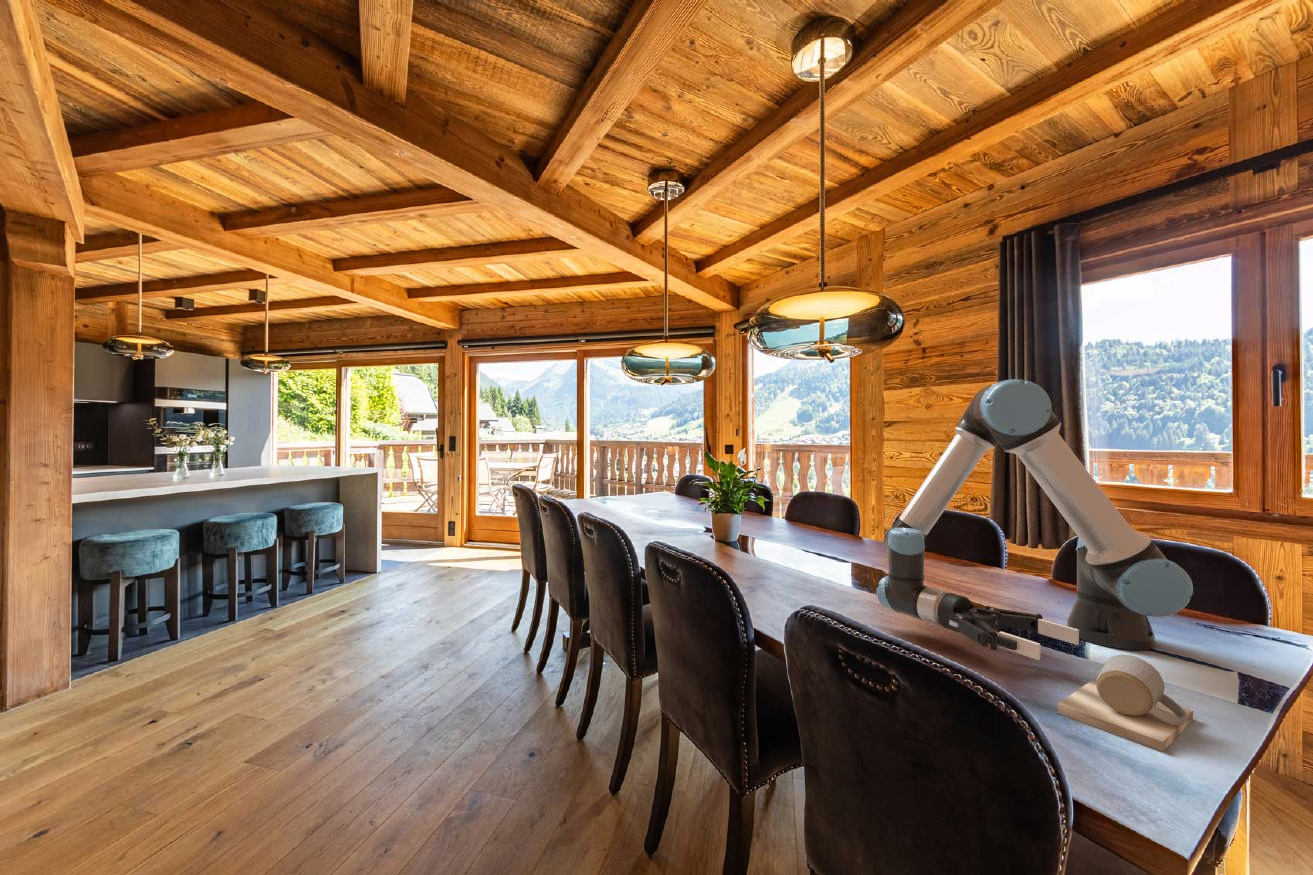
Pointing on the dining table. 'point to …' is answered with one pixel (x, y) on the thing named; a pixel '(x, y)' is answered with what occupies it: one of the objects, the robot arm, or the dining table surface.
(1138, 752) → the dining table surface
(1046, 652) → the dining table surface
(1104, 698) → the ceramic mug
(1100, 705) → the birch board
